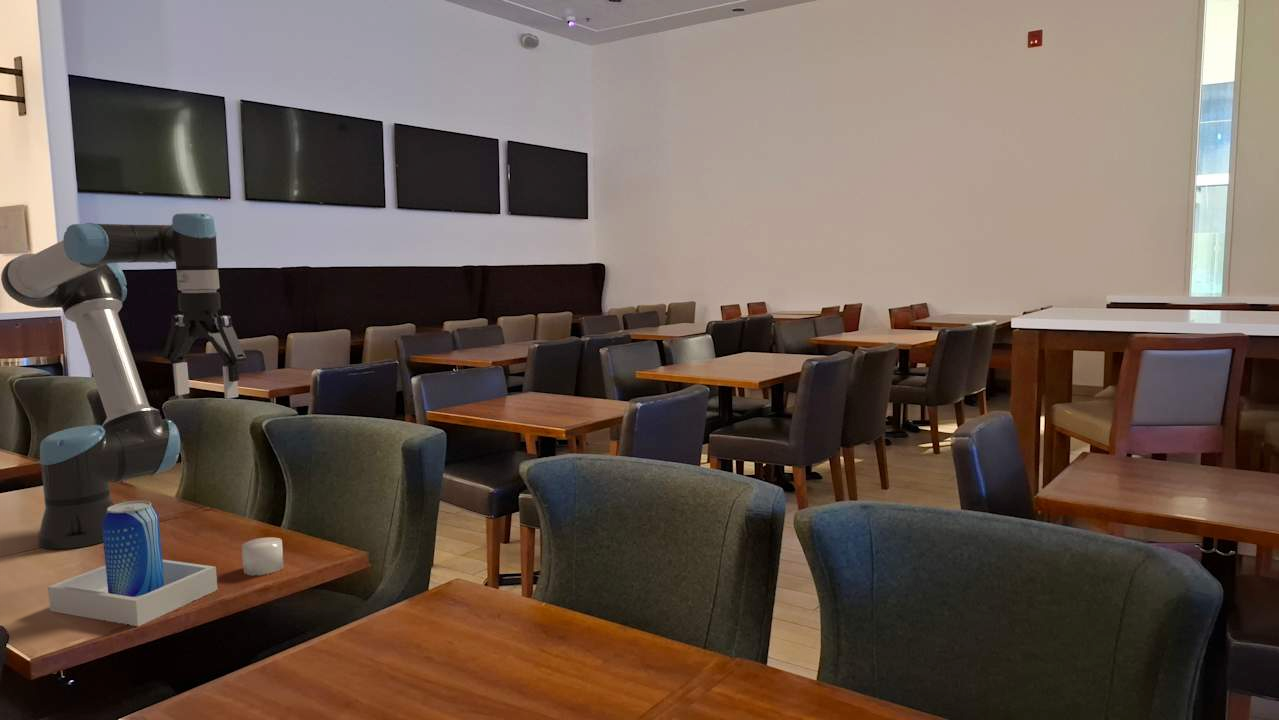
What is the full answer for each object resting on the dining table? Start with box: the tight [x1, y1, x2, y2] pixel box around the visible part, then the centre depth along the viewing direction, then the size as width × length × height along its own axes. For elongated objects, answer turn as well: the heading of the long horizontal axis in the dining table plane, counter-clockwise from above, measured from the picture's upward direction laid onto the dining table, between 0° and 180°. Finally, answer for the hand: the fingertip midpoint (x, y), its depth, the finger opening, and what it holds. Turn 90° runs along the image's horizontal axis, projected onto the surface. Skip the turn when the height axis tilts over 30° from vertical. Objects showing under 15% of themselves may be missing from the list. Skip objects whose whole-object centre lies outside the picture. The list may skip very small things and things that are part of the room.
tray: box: [47, 558, 218, 627], centre depth 150 cm, size 20×16×4 cm
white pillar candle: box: [241, 536, 285, 576], centre depth 164 cm, size 7×7×5 cm
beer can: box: [102, 500, 164, 598], centre depth 149 cm, size 8×8×16 cm
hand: (206, 396), depth 176 cm, fingers open, 13 cm apart
